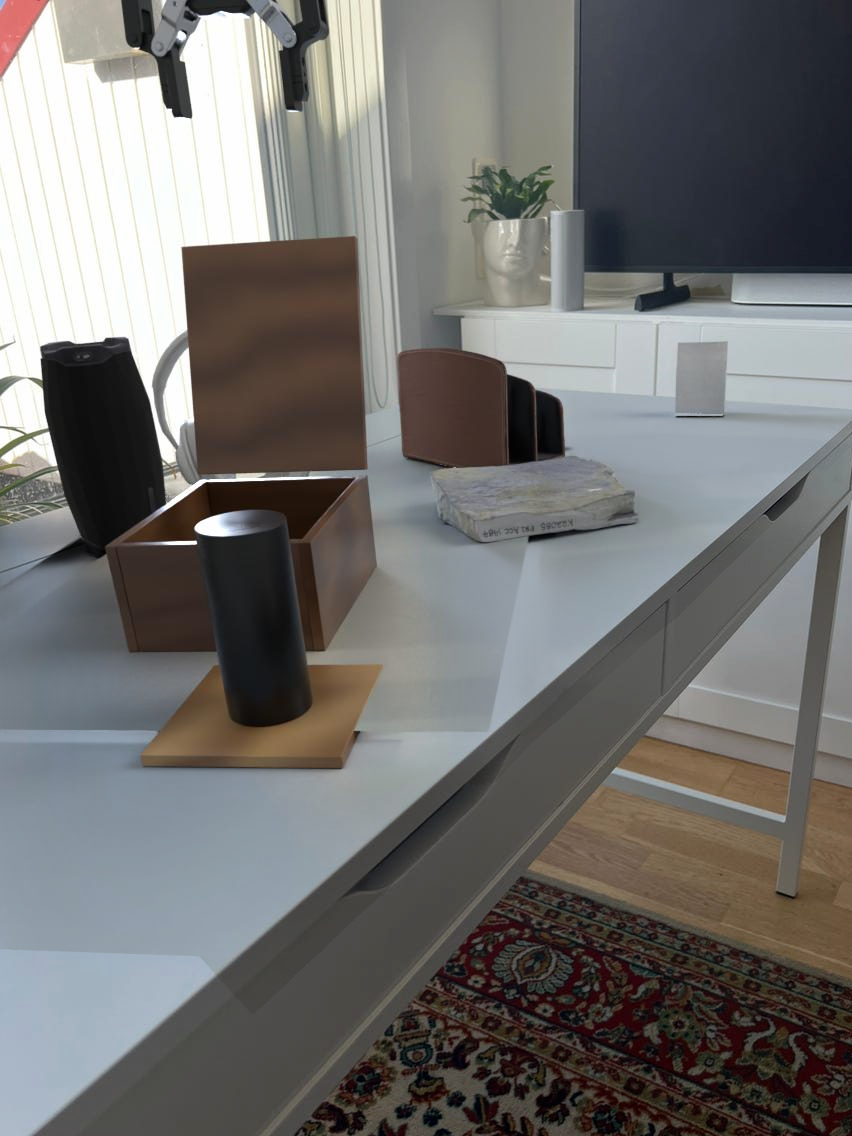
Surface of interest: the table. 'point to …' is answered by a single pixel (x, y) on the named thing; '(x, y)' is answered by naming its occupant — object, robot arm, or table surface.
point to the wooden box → (174, 576)
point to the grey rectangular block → (701, 377)
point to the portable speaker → (102, 437)
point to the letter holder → (473, 411)
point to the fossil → (531, 498)
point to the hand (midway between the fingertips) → (238, 115)
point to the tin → (255, 616)
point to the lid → (276, 356)
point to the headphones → (187, 432)
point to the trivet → (301, 743)
